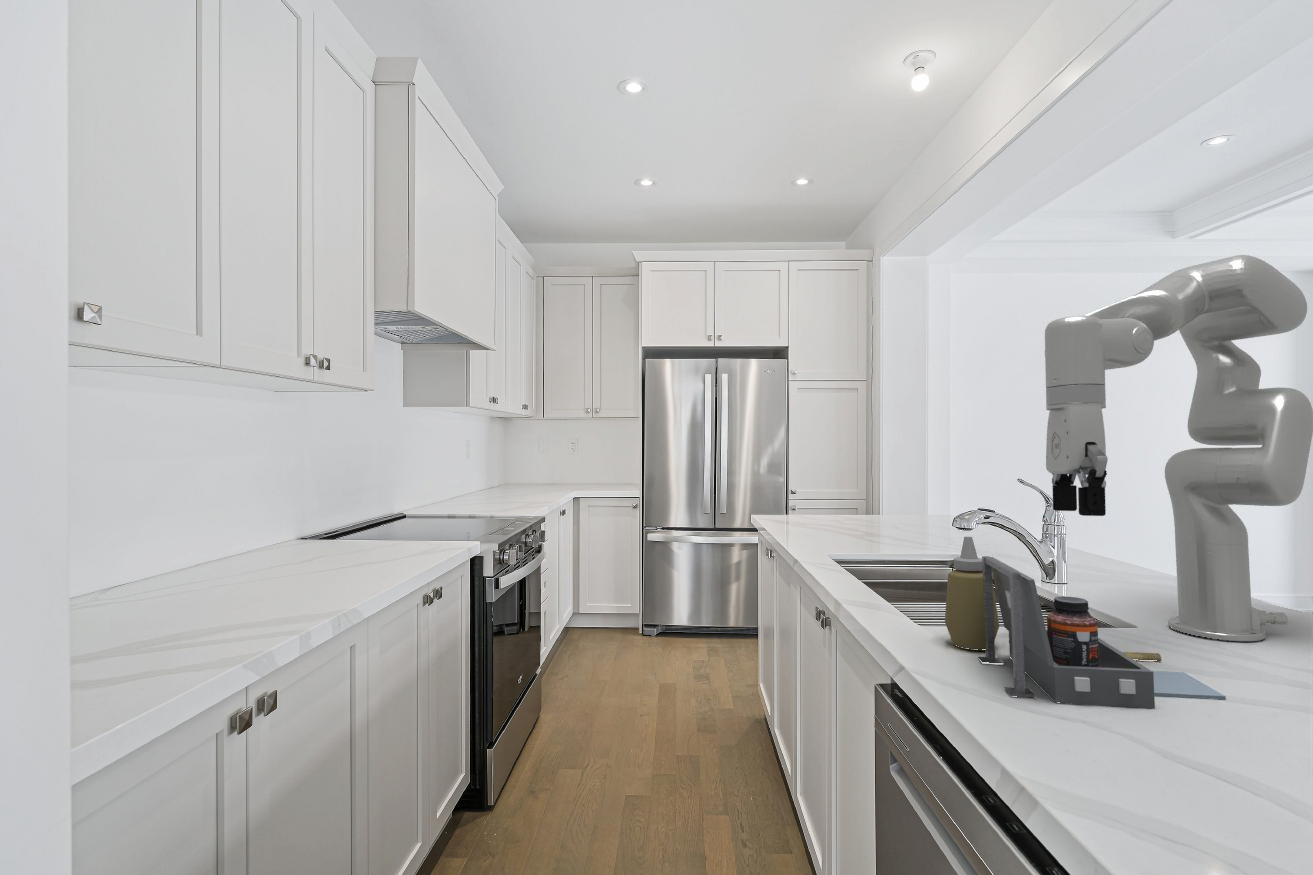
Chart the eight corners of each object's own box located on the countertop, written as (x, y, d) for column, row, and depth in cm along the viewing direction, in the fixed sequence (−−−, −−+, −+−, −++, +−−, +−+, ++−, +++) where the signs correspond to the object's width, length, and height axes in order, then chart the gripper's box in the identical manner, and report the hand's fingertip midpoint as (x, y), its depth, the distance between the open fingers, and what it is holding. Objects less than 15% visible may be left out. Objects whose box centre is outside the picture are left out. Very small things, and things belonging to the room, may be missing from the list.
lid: (992, 556, 99) (986, 557, 99) (1034, 579, 81) (1026, 580, 81) (1008, 626, 98) (1002, 627, 98) (1054, 664, 81) (1046, 665, 81)
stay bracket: (999, 659, 97) (994, 555, 98) (1035, 698, 82) (1030, 574, 83) (977, 659, 98) (973, 555, 98) (1010, 696, 83) (1005, 574, 83)
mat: (1183, 674, 89) (1183, 672, 89) (1225, 699, 80) (1225, 696, 80) (1111, 671, 91) (1111, 668, 91) (1144, 695, 82) (1144, 692, 82)
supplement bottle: (1101, 691, 84) (1097, 605, 84) (1049, 683, 87) (1045, 601, 87) (1098, 677, 89) (1095, 596, 89) (1049, 670, 92) (1045, 592, 92)
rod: (1161, 664, 95) (1156, 659, 96) (1161, 656, 94) (1156, 651, 96) (1071, 660, 97) (1067, 656, 99) (1072, 652, 97) (1068, 647, 98)
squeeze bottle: (988, 657, 99) (983, 541, 99) (936, 646, 105) (932, 537, 105) (1008, 646, 104) (1003, 536, 104) (958, 636, 110) (954, 532, 110)
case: (1089, 661, 96) (1088, 631, 96) (1156, 709, 78) (1155, 672, 78) (1009, 657, 98) (1008, 628, 98) (1057, 704, 80) (1055, 668, 80)
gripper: (1028, 405, 105) (1030, 508, 104) (1070, 393, 88) (1073, 517, 87) (1079, 404, 103) (1081, 509, 102) (1132, 392, 86) (1135, 518, 85)
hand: (1077, 512), depth 95 cm, fingers open, 9 cm apart
